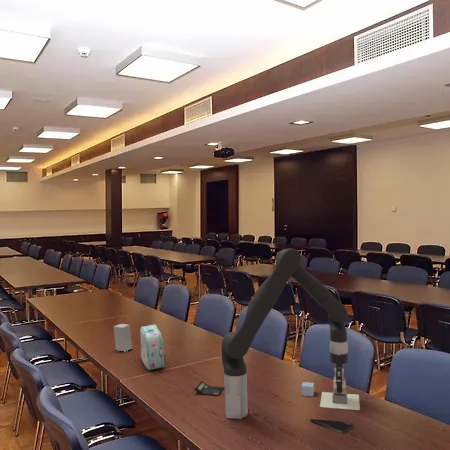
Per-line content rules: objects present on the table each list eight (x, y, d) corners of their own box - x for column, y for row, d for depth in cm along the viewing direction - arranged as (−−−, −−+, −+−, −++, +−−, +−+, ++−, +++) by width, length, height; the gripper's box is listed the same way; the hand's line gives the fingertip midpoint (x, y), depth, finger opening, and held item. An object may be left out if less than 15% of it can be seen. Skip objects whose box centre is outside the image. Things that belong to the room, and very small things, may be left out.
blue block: (313, 398, 202) (313, 387, 202) (301, 397, 203) (301, 386, 203) (314, 393, 207) (313, 382, 207) (302, 393, 208) (302, 382, 208)
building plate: (359, 411, 187) (359, 410, 187) (319, 408, 191) (319, 406, 191) (358, 396, 202) (358, 394, 202) (322, 393, 206) (321, 391, 206)
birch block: (345, 393, 193) (345, 382, 193) (333, 393, 195) (333, 381, 194) (345, 389, 198) (345, 378, 198) (333, 388, 199) (333, 377, 199)
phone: (320, 413, 185) (353, 424, 174) (320, 415, 185) (353, 427, 175) (309, 419, 179) (343, 431, 169) (309, 422, 179) (343, 434, 169)
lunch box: (167, 371, 242) (166, 330, 241) (148, 373, 238) (146, 333, 238) (157, 356, 267) (155, 320, 266) (139, 359, 263) (138, 322, 263)
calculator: (218, 397, 207) (218, 390, 207) (194, 394, 210) (194, 388, 210) (224, 389, 216) (224, 382, 215) (201, 387, 219) (201, 380, 219)
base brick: (347, 404, 193) (347, 396, 193) (332, 402, 194) (332, 395, 194) (347, 398, 199) (347, 391, 198) (333, 397, 200) (332, 390, 200)
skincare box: (132, 350, 281) (131, 324, 281) (124, 353, 275) (123, 327, 275) (122, 348, 286) (121, 323, 285) (114, 351, 280) (113, 325, 279)
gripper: (330, 345, 204) (331, 383, 204) (329, 355, 190) (330, 396, 190) (347, 346, 202) (348, 384, 202) (347, 356, 188) (348, 397, 188)
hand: (339, 390), depth 196 cm, fingers closed on birch block, 4 cm apart
